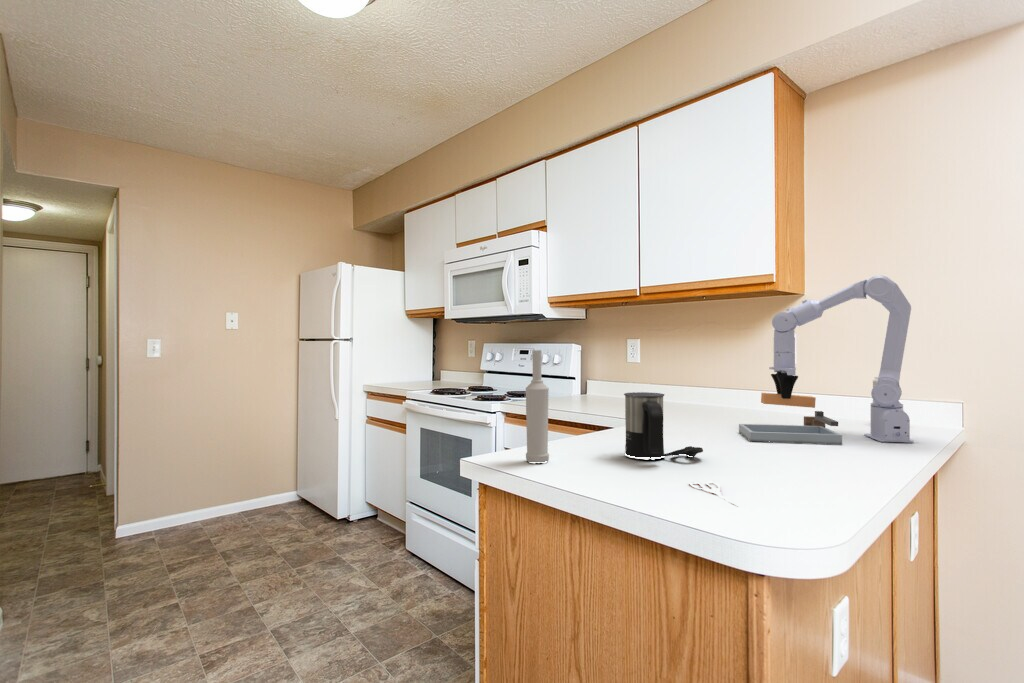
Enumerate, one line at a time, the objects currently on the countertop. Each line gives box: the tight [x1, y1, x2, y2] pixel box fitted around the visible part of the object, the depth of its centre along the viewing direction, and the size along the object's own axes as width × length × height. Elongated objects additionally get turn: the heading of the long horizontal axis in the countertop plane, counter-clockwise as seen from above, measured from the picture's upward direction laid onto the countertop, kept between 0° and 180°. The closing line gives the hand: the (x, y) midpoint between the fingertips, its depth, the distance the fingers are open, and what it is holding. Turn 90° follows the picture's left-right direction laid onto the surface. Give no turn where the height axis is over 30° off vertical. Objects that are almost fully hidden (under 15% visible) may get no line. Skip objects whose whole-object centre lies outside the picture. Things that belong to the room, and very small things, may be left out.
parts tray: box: [738, 423, 843, 445], centre depth 144 cm, size 14×22×2 cm, turn 78°
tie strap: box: [814, 410, 839, 427], centre depth 148 cm, size 12×2×2 cm, turn 168°
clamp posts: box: [803, 415, 826, 428], centre depth 157 cm, size 9×3×3 cm, turn 168°
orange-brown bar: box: [760, 392, 817, 409], centre depth 158 cm, size 4×14×3 cm, turn 78°
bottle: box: [525, 349, 550, 462], centre depth 117 cm, size 5×5×25 cm
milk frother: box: [623, 391, 704, 458], centre depth 121 cm, size 14×16×15 cm
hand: (784, 397), depth 158 cm, fingers closed on orange-brown bar, 3 cm apart
